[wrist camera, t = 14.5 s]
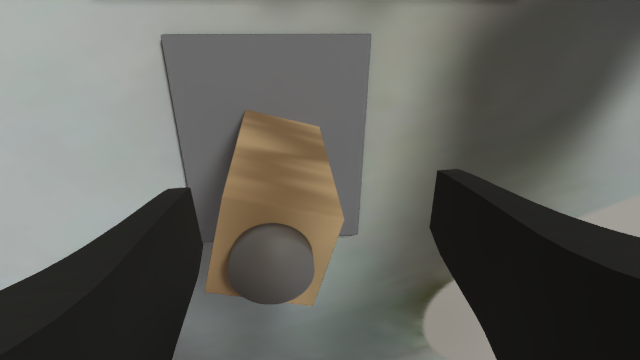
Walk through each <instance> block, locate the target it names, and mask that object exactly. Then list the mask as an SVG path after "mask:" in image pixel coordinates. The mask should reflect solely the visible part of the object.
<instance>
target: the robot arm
mask: <svg viewBox="0 0 640 360" xmlns="http://www.w3.org/2000/svg"><path fill="white" fill-rule="evenodd" d="M430 230H431V232H432V235H433V238H434V240H435V243H436V245H437V248H438V250H439V252H440V255H441V257H442V258H443V260H444V262H445V264H446V265H447V267H448V269H449V271H450V272H451V274H452V276H453V278H454V279H455V281H456V283H457V284H458V286H459V288H460V290H461V291H462V293H463V295H464V296H465V298H466V300H467V301H468V303H469V305H470V307H471V308H472V310H473V312H474V313H475V315H476V317H477V319H478V321H479V322H480V324H481V326H482V328H483V330H484V332H485V334H486V337H487V339H488V341H489V343H490V345H491V347H492V350H493V352H494V354H495V357H496V359H497V360H640V238H639V237H636V236H632V235H628V234H624V233H620V232H617V231H614V230H610V229H607V228H604V227H600V226H597V225H594V224H591V223H588V222H585V221H582V220H579V219H576V218H573V217H570V216H568V215H565V214H562V213H559V212H557V211H554V210H552V209H549V208H547V207H544V206H542V205H539V204H537V203H535V202H532V201H530V200H528V199H525V198H523V197H521V196H518V195H516V194H514V193H512V192H510V191H507V190H505V189H503V188H501V187H499V186H497V185H494V184H492V183H490V182H488V181H486V180H483V179H481V178H479V177H477V176H474V175H472V174H470V173H467V172H464V171H462V170H458V169H453V170H439V171H437V177H436V184H435V192H434V199H433V207H432V214H431V222H430ZM202 249H203V242H202V238H201V233H200V229H199V224H198V220H197V215H196V211H195V206H194V202H193V197H192V193H191V188H190V187H188V188H173V189H167V190H166V191H164V192H162V193H161V194H159V195H158V196H156V197H155V198H153V199H152V200H151V201H149V202H148V203H147V204H145V205H144V206H142V207H141V208H140V209H138V210H137V211H136V212H134V213H133V214H131V215H130V216H129V217H127V218H126V219H124V220H123V221H122V222H120V223H119V224H117V225H116V226H114V227H113V228H111V229H110V230H108V231H107V232H105V233H104V234H102V235H101V236H99V237H98V238H96V239H95V240H93V241H92V242H90V243H89V244H87V245H86V246H84V247H83V248H81V249H79V250H78V251H76V252H74V253H73V254H71V255H69V256H67V257H66V258H64V259H62V260H60V261H58V262H57V263H55V264H53V265H51V266H49V267H48V268H46V269H44V270H42V271H40V272H38V273H36V274H34V275H32V276H30V277H28V278H26V279H24V280H22V281H19V282H17V283H15V284H13V285H11V286H9V287H7V288H5V289H3V290H1V291H0V360H172V358H173V354H174V351H175V347H176V344H177V340H178V337H179V334H180V331H181V328H182V325H183V322H184V319H185V316H186V312H187V309H188V306H189V303H190V300H191V297H192V294H193V290H194V287H195V284H196V281H197V277H198V273H199V268H200V262H201V256H202Z"/></svg>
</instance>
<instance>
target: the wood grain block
mask: <svg viewBox="0 0 640 360" xmlns="http://www.w3.org/2000/svg"><path fill="white" fill-rule="evenodd" d="M343 222H344V216H343V212H342V209H341V205H340V201H339V198H338V194H337V190H336V187H335V183H334V179H333V176H332V172H331V168H330V165H329V161H328V157H327V153H326V150H325V146H324V142H323V139H322V135H321V131H320V128H319V127H318V126H314V125H310V124H306V123H301V122H297V121H293V120H288V119H284V118H280V117H276V116H271V115H267V114H263V113H259V112H254V111H250V110H245V113H244V117H243V121H242V125H241V128H240V132H239V136H238V140H237V143H236V147H235V151H234V155H233V158H232V162H231V166H230V169H229V173H228V177H227V181H226V184H225V188H224V192H223V196H222V200H221V206H220V211H219V217H218V222H217V227H216V233H215V238H214V243H213V249H212V254H211V260H210V265H209V270H208V276H207V281H206V287H205V292H209V293H217V294H225V295H232V296H240V297H244V298H246V299H247V300H250V301H252V302H256V303H260V304H280V303H284V302H286V303H293V304H301V305H309V306H313V305H314V302H315V299H316V296H317V294H318V291H319V288H320V285H321V282H322V280H323V277H324V274H325V271H326V269H327V266H328V263H329V260H330V258H331V255H332V252H333V249H334V247H335V244H336V241H337V238H338V236H339V233H340V230H341V227H342V225H343Z"/></svg>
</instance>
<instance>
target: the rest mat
mask: <svg viewBox="0 0 640 360" xmlns="http://www.w3.org/2000/svg"><path fill="white" fill-rule="evenodd" d="M161 39H162V45H163V51H164V56H165V62H166V67H167V73H168V79H169V84H170V90H171V95H172V101H173V107H174V112H175V118H176V123H177V129H178V135H179V140H180V146H181V151H182V157H183V162H184V168H185V174H186V179H187V185H188V187H190V188H191V193H192V197H193V202H194V206H195V211H196V215H197V220H198V224H199V229H200V233H201V238H202V242H214V238H215V233H216V227H217V222H218V217H219V211H220V206H221V200H222V196H223V192H224V188H225V184H226V181H227V177H228V173H229V169H230V166H231V162H232V158H233V155H234V151H235V147H236V143H237V140H238V136H239V132H240V128H241V125H242V121H243V117H244V113H245V110H250V111H254V112H259V113H263V114H267V115H271V116H276V117H280V118H284V119H288V120H293V121H297V122H301V123H306V124H310V125H314V126H318V127H319V128H320V131H321V135H322V139H323V142H324V146H325V150H326V153H327V157H328V161H329V165H330V168H331V172H332V176H333V179H334V183H335V187H336V190H337V194H338V198H339V201H340V205H341V209H342V212H343V216H344V222H343V225H342V227H341V230H340V233H339V235H356V234H358V223H359V209H360V194H361V179H362V165H363V150H364V135H365V121H366V106H367V92H368V77H369V62H370V48H371V34H163V35H161Z"/></svg>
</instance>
